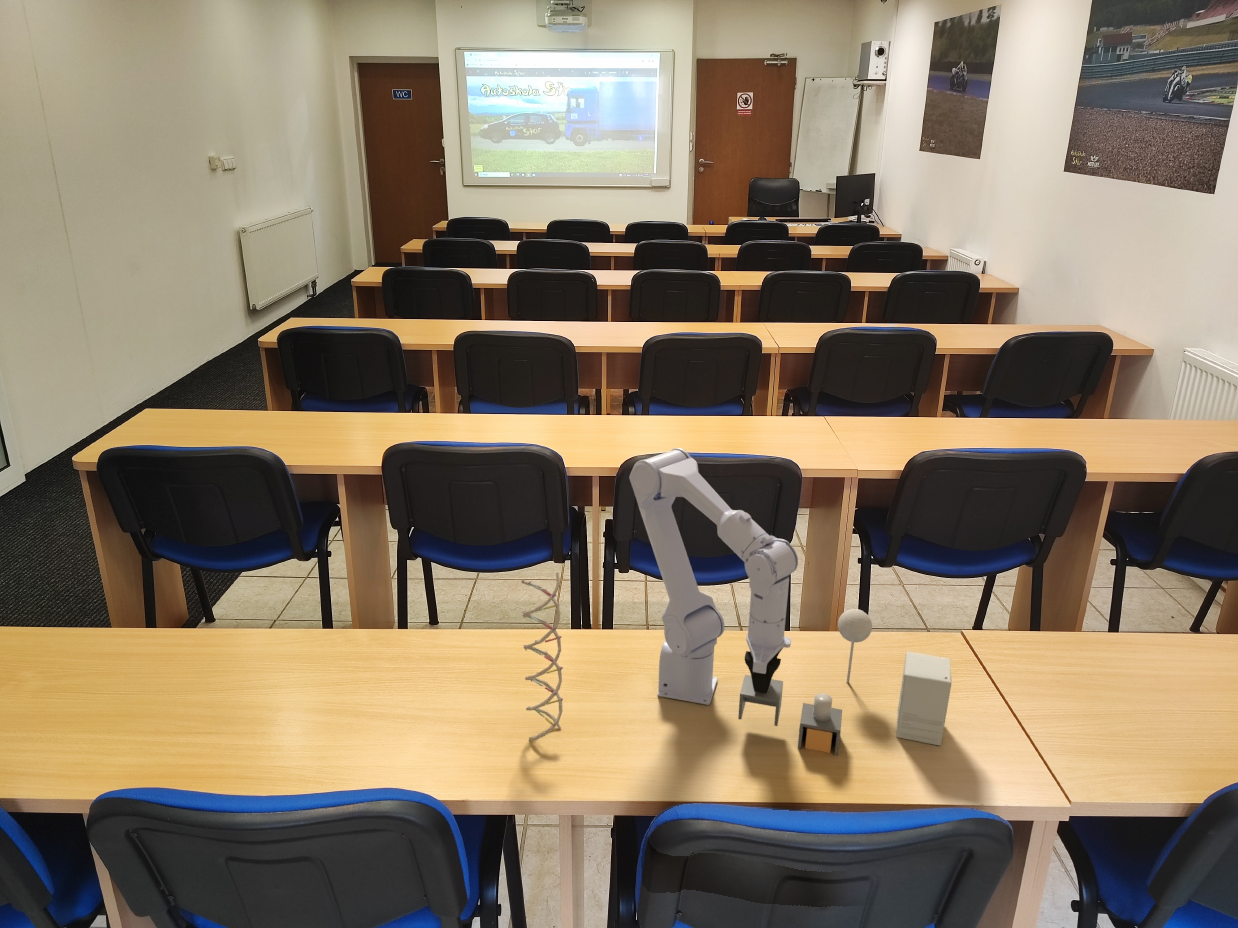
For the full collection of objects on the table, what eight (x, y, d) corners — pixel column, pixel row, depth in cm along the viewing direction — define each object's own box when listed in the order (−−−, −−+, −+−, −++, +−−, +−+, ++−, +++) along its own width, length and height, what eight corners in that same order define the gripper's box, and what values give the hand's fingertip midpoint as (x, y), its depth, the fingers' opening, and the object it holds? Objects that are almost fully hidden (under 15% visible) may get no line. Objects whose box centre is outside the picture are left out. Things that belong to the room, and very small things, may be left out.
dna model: (534, 751, 143) (528, 590, 132) (519, 728, 149) (513, 571, 137) (571, 739, 146) (569, 580, 135) (556, 717, 151) (552, 562, 140)
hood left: (738, 718, 146) (741, 675, 143) (743, 699, 151) (746, 656, 147) (777, 725, 144) (781, 682, 141) (781, 705, 149) (784, 663, 146)
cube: (805, 748, 145) (807, 728, 143) (807, 732, 148) (809, 713, 147) (830, 752, 144) (832, 732, 142) (831, 737, 147) (833, 717, 146)
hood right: (797, 748, 145) (801, 705, 141) (800, 727, 149) (804, 685, 146) (837, 755, 143) (842, 712, 140) (839, 734, 148) (844, 691, 145)
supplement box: (941, 720, 152) (952, 657, 147) (941, 747, 145) (952, 683, 140) (896, 710, 154) (905, 649, 149) (894, 737, 147) (904, 673, 142)
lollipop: (865, 694, 158) (875, 622, 152) (831, 690, 159) (840, 618, 153) (863, 674, 164) (872, 604, 158) (831, 670, 165) (839, 600, 159)
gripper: (788, 642, 133) (781, 716, 138) (797, 594, 146) (790, 664, 151) (741, 634, 135) (736, 708, 140) (754, 588, 147) (749, 657, 153)
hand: (761, 685), depth 145 cm, fingers closed on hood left, 3 cm apart
